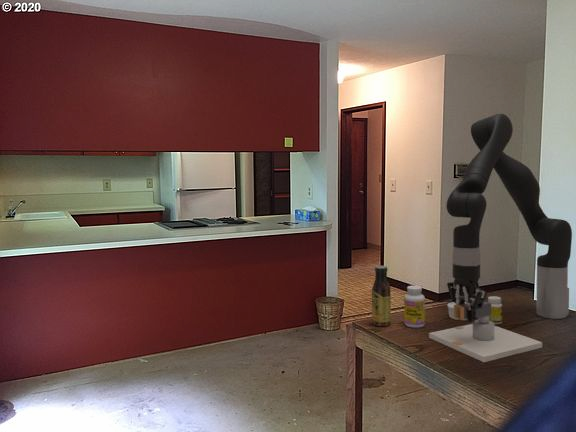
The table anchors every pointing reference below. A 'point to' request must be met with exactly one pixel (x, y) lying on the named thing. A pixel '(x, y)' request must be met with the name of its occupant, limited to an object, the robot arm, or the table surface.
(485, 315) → the handle
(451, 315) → the ramekin
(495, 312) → the supplement bottle
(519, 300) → the table surface
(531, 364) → the table surface
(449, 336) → the base
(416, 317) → the supplement bottle
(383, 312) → the sauce bottle
